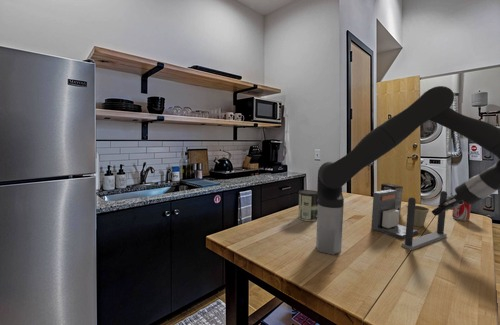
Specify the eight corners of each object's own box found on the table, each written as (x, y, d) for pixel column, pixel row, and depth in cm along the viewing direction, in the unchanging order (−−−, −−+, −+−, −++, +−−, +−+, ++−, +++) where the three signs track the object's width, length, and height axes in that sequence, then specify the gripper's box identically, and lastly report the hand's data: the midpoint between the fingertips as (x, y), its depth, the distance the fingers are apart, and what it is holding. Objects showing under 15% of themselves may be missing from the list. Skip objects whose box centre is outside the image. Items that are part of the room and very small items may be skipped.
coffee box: (378, 211, 149) (380, 183, 147) (386, 209, 151) (388, 183, 150) (392, 215, 141) (395, 186, 139) (401, 214, 143) (403, 186, 141)
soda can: (462, 217, 139) (465, 194, 138) (473, 221, 132) (475, 197, 130) (448, 216, 140) (451, 193, 138) (458, 221, 132) (460, 196, 131)
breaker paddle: (398, 225, 119) (399, 210, 119) (388, 228, 115) (389, 213, 115) (392, 223, 122) (393, 209, 121) (381, 226, 118) (382, 211, 117)
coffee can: (315, 215, 139) (316, 189, 138) (320, 221, 129) (321, 194, 128) (296, 215, 139) (297, 189, 138) (299, 221, 129) (300, 193, 128)
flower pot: (432, 228, 122) (434, 210, 121) (413, 228, 121) (415, 210, 120) (418, 221, 131) (420, 205, 130) (401, 221, 131) (402, 205, 130)
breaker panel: (417, 233, 114) (421, 195, 113) (401, 239, 108) (404, 198, 106) (387, 224, 126) (390, 189, 125) (371, 228, 120) (373, 192, 118)
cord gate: (446, 236, 111) (450, 191, 109) (411, 250, 97) (416, 198, 95) (436, 233, 115) (440, 189, 112) (401, 246, 101) (405, 196, 99)
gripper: (474, 179, 96) (435, 203, 108) (458, 182, 90) (418, 207, 101) (491, 196, 92) (448, 219, 104) (476, 200, 86) (432, 224, 97)
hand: (433, 213), depth 103 cm, fingers closed
